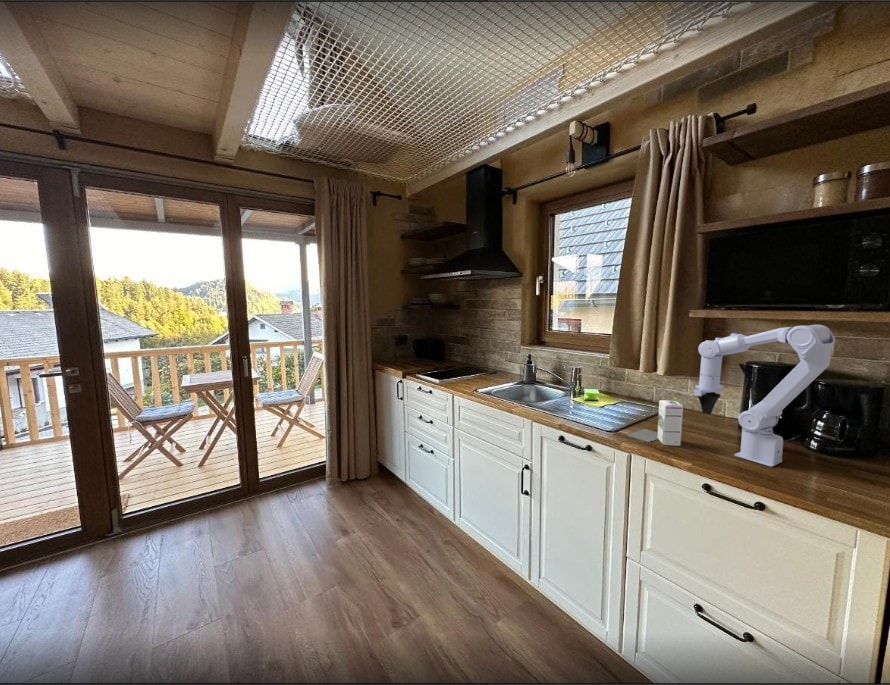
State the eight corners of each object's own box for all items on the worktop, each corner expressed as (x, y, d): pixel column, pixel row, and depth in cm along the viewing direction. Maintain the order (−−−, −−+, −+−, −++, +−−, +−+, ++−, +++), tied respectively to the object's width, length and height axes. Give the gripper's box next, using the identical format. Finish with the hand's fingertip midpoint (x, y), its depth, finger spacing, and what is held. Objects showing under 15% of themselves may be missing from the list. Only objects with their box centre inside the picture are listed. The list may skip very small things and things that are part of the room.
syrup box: (681, 446, 123) (684, 405, 121) (662, 445, 124) (665, 404, 122) (674, 439, 128) (677, 400, 126) (655, 438, 130) (658, 399, 127)
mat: (667, 436, 132) (667, 435, 132) (648, 442, 126) (648, 441, 126) (645, 429, 140) (645, 428, 140) (625, 435, 134) (625, 434, 134)
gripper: (708, 371, 131) (704, 407, 132) (685, 375, 124) (682, 413, 125) (730, 374, 125) (727, 412, 126) (708, 379, 118) (705, 419, 119)
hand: (706, 413), depth 125 cm, fingers closed
